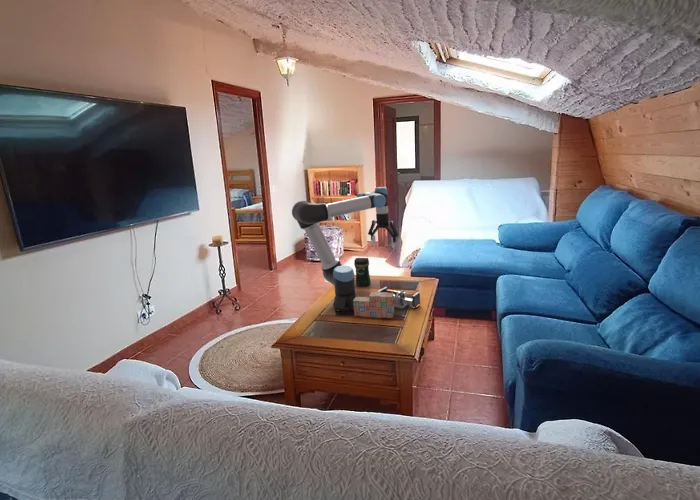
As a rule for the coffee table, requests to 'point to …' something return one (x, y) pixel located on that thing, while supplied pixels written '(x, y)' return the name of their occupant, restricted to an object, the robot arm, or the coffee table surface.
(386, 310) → the stack of blocks
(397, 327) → the coffee table surface
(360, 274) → the coffee jar
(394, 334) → the coffee table surface
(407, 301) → the plunger
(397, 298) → the gauge body
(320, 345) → the coffee table surface
